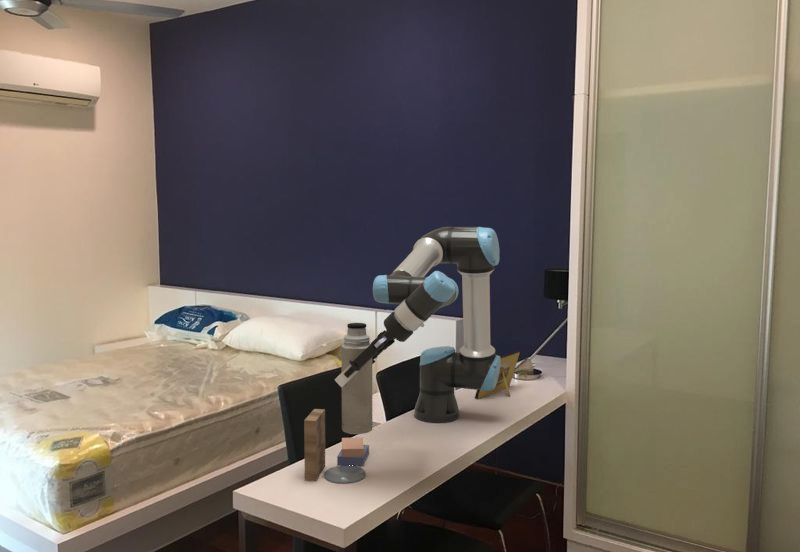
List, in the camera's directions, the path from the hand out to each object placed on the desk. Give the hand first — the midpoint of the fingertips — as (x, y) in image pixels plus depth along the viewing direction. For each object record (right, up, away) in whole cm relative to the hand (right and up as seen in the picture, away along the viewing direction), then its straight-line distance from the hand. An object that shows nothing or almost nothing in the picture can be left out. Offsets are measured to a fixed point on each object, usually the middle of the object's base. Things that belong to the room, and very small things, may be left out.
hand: (344, 379), depth 179 cm
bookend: (-8, -25, +3) cm, 27 cm away
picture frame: (+53, -18, +79) cm, 97 cm away
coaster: (0, -26, +2) cm, 26 cm away
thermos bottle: (+3, -13, 0) cm, 14 cm away
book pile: (+1, -24, +13) cm, 28 cm away
